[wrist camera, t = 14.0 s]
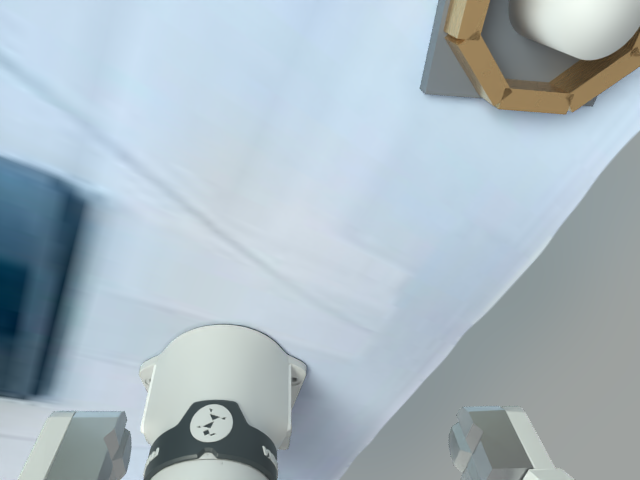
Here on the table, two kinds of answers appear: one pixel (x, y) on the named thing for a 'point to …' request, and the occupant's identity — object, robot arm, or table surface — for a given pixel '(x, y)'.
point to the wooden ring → (521, 94)
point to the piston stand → (533, 40)
